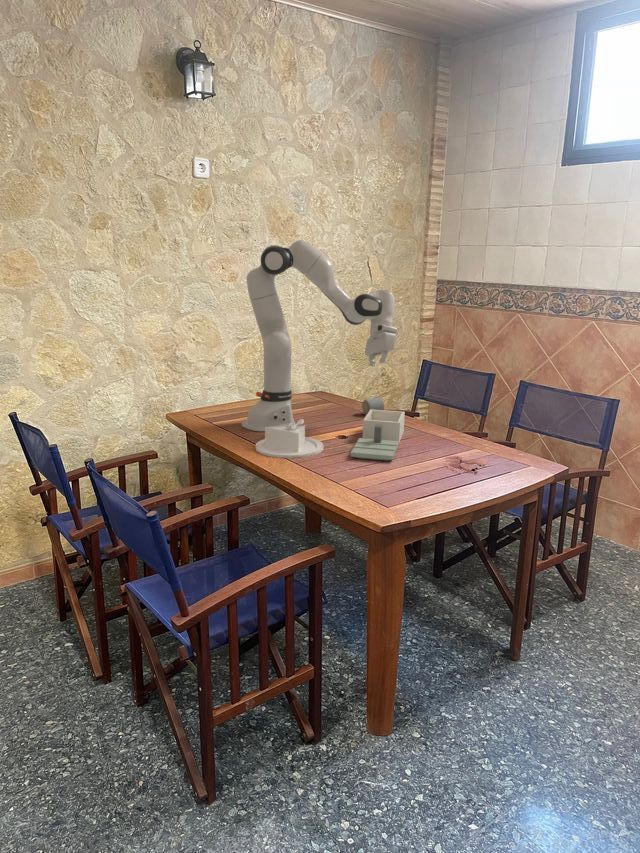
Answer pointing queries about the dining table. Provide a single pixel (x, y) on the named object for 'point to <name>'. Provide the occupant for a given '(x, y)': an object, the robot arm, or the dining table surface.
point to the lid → (375, 447)
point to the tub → (384, 424)
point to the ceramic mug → (372, 404)
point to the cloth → (458, 459)
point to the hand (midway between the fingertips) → (376, 364)
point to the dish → (288, 442)
